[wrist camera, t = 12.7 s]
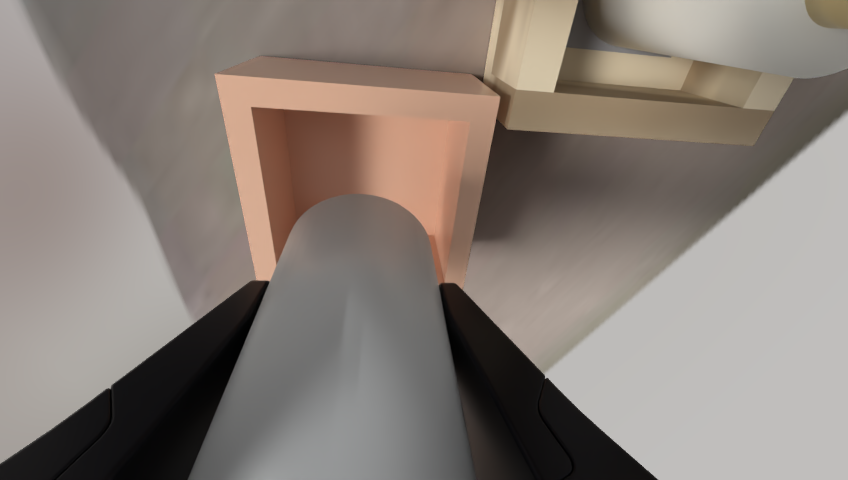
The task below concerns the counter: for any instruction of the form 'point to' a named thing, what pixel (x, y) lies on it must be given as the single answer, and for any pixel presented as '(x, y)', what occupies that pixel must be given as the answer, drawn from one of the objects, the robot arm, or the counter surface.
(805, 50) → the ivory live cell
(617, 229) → the counter surface
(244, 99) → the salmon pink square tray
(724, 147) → the counter surface
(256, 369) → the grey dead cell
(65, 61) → the counter surface
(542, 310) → the counter surface
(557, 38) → the frame
